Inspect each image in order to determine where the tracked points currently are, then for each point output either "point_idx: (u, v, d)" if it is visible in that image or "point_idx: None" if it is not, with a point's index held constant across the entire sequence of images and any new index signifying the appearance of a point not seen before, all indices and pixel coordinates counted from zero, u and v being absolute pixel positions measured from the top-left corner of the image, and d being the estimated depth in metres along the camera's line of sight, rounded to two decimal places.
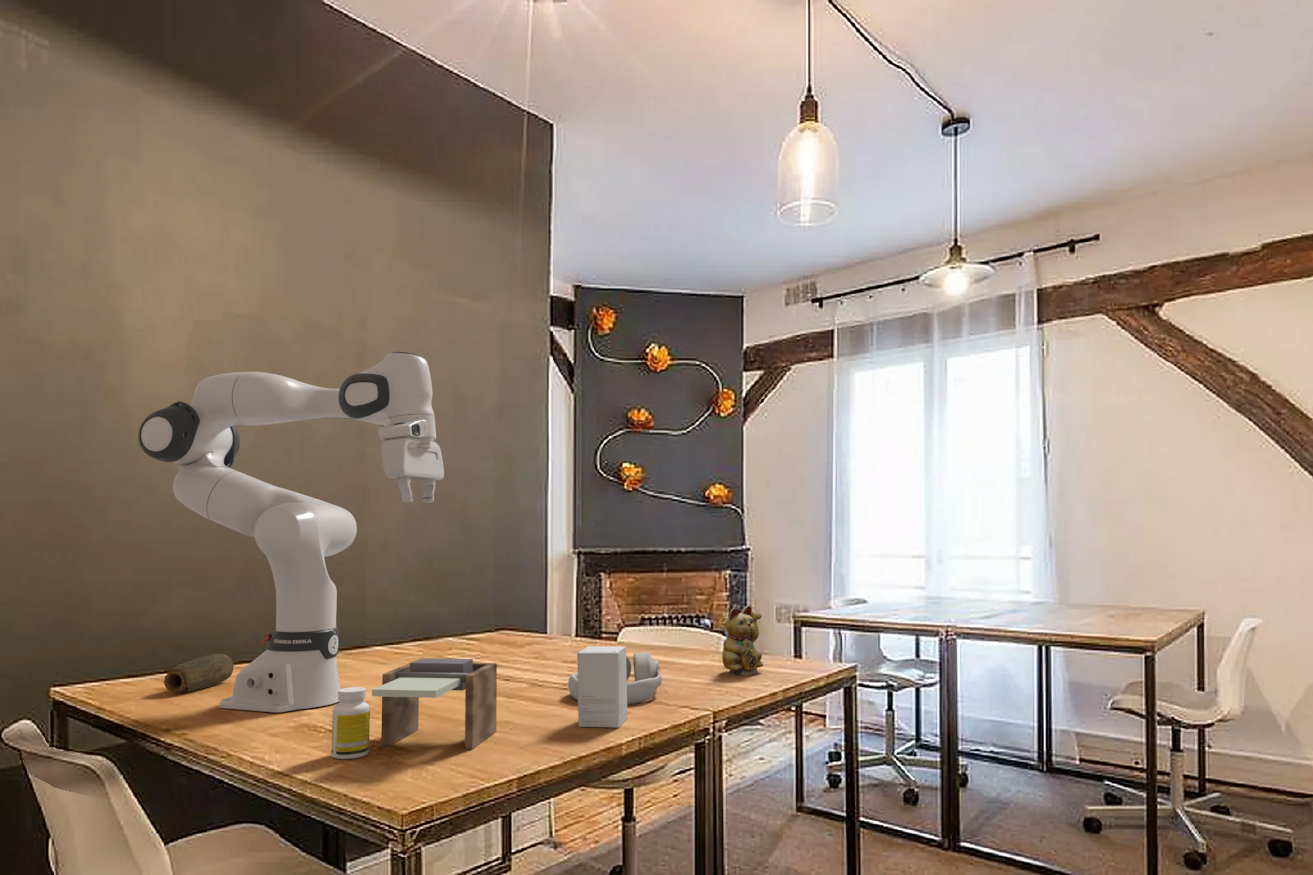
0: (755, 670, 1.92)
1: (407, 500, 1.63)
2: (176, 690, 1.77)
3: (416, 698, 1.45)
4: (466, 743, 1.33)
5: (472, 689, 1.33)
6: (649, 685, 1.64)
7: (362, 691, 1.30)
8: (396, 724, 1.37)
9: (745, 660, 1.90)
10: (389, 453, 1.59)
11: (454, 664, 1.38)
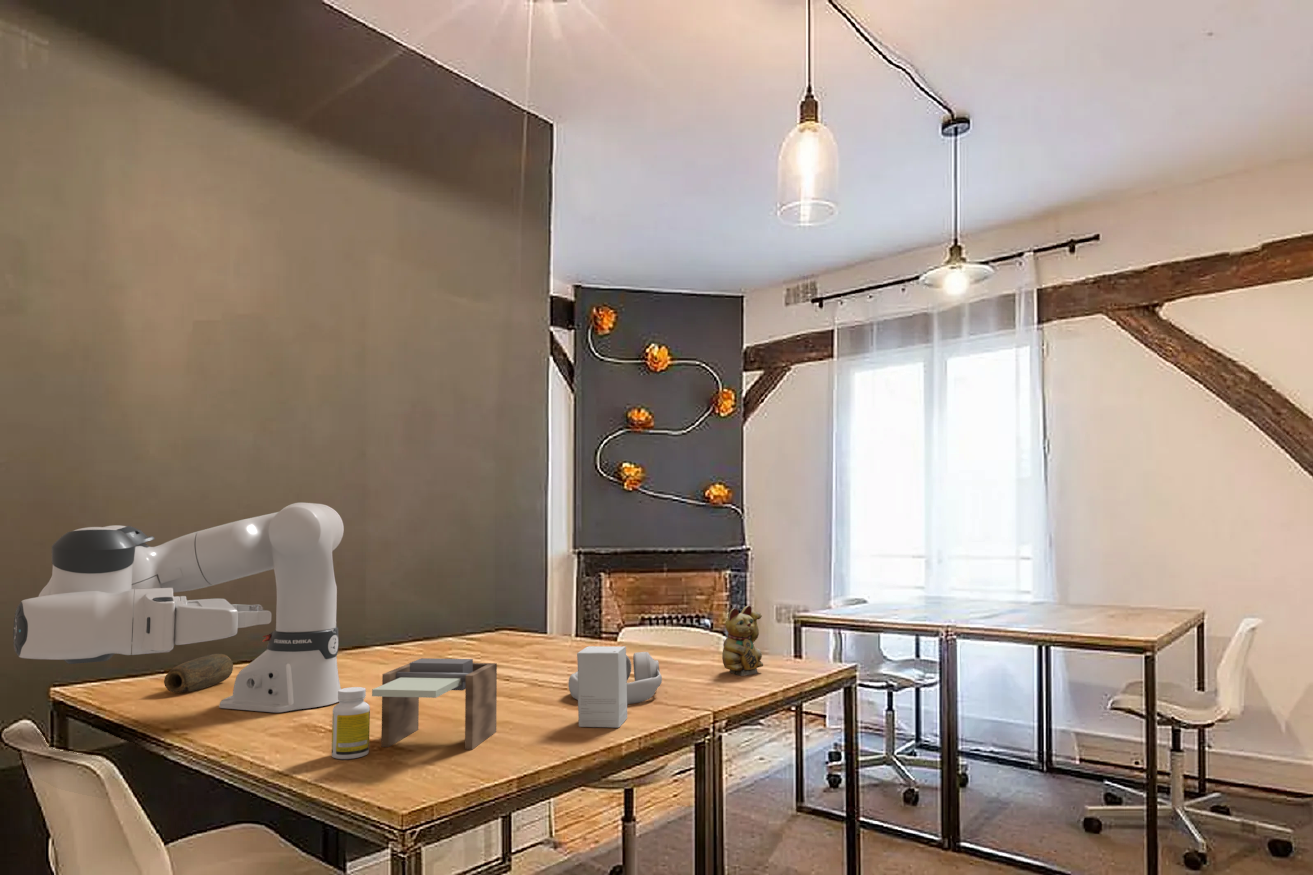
0: (755, 670, 1.92)
1: (269, 615, 1.21)
2: (176, 690, 1.77)
3: (416, 698, 1.45)
4: (466, 743, 1.33)
5: (472, 689, 1.33)
6: (649, 685, 1.65)
7: (362, 691, 1.30)
8: (396, 724, 1.37)
9: (745, 660, 1.90)
10: (201, 628, 1.13)
11: (454, 664, 1.38)
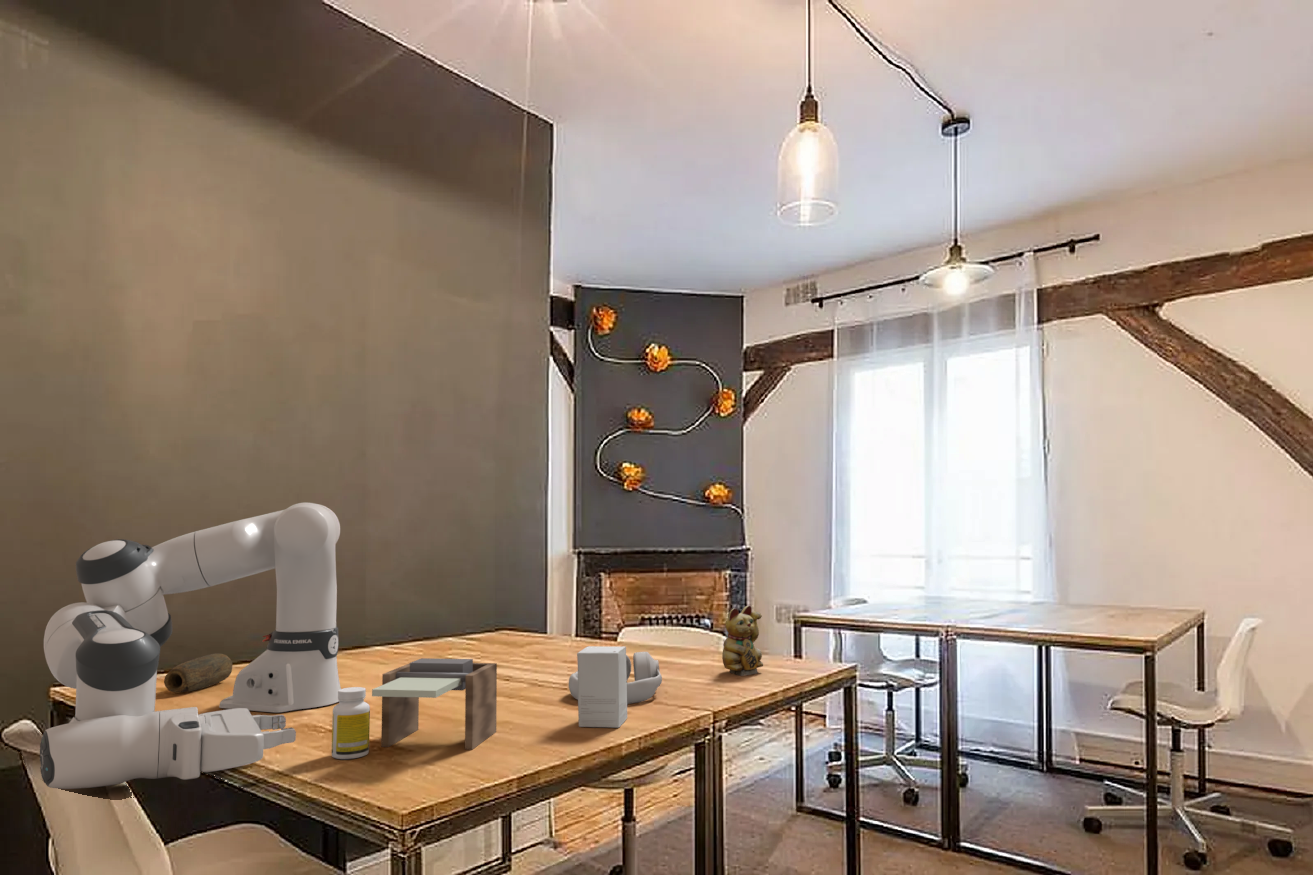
0: (755, 670, 1.92)
1: (294, 734, 1.21)
2: (176, 690, 1.76)
3: (416, 698, 1.45)
4: (466, 743, 1.33)
5: (472, 689, 1.33)
6: (650, 685, 1.65)
7: (362, 691, 1.30)
8: (396, 724, 1.37)
9: (745, 660, 1.90)
10: (228, 755, 1.13)
11: (454, 664, 1.38)
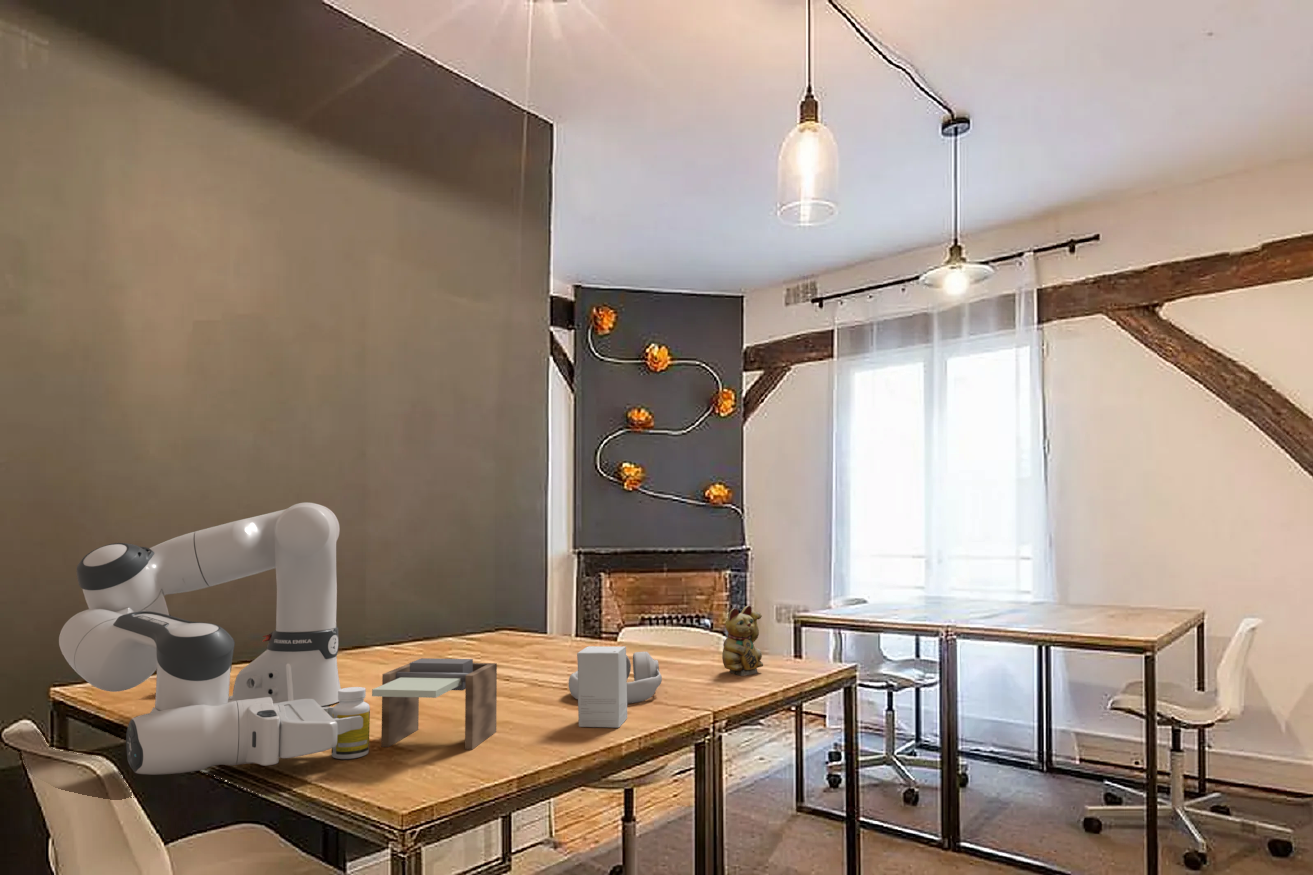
0: (755, 670, 1.92)
1: (361, 720, 1.28)
2: None
3: (416, 698, 1.45)
4: (466, 743, 1.33)
5: (472, 689, 1.33)
6: (650, 685, 1.65)
7: (362, 691, 1.30)
8: (396, 724, 1.37)
9: (745, 660, 1.90)
10: (305, 743, 1.18)
11: (454, 664, 1.38)
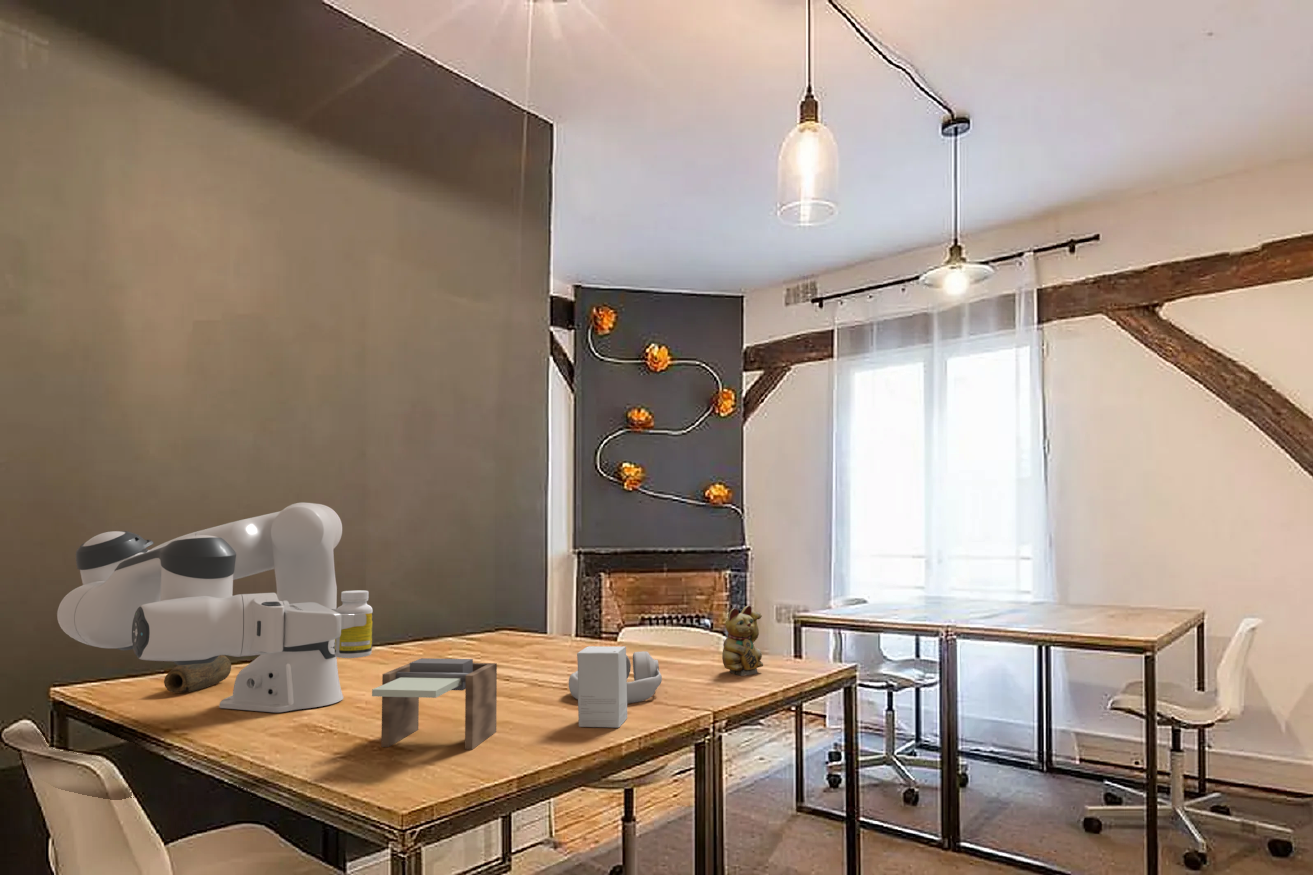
0: (755, 670, 1.92)
1: (364, 618, 1.29)
2: (177, 690, 1.76)
3: (416, 698, 1.45)
4: (466, 743, 1.33)
5: (472, 689, 1.33)
6: (650, 684, 1.65)
7: (365, 593, 1.32)
8: (396, 724, 1.37)
9: (745, 660, 1.90)
10: (309, 631, 1.19)
11: (454, 664, 1.38)
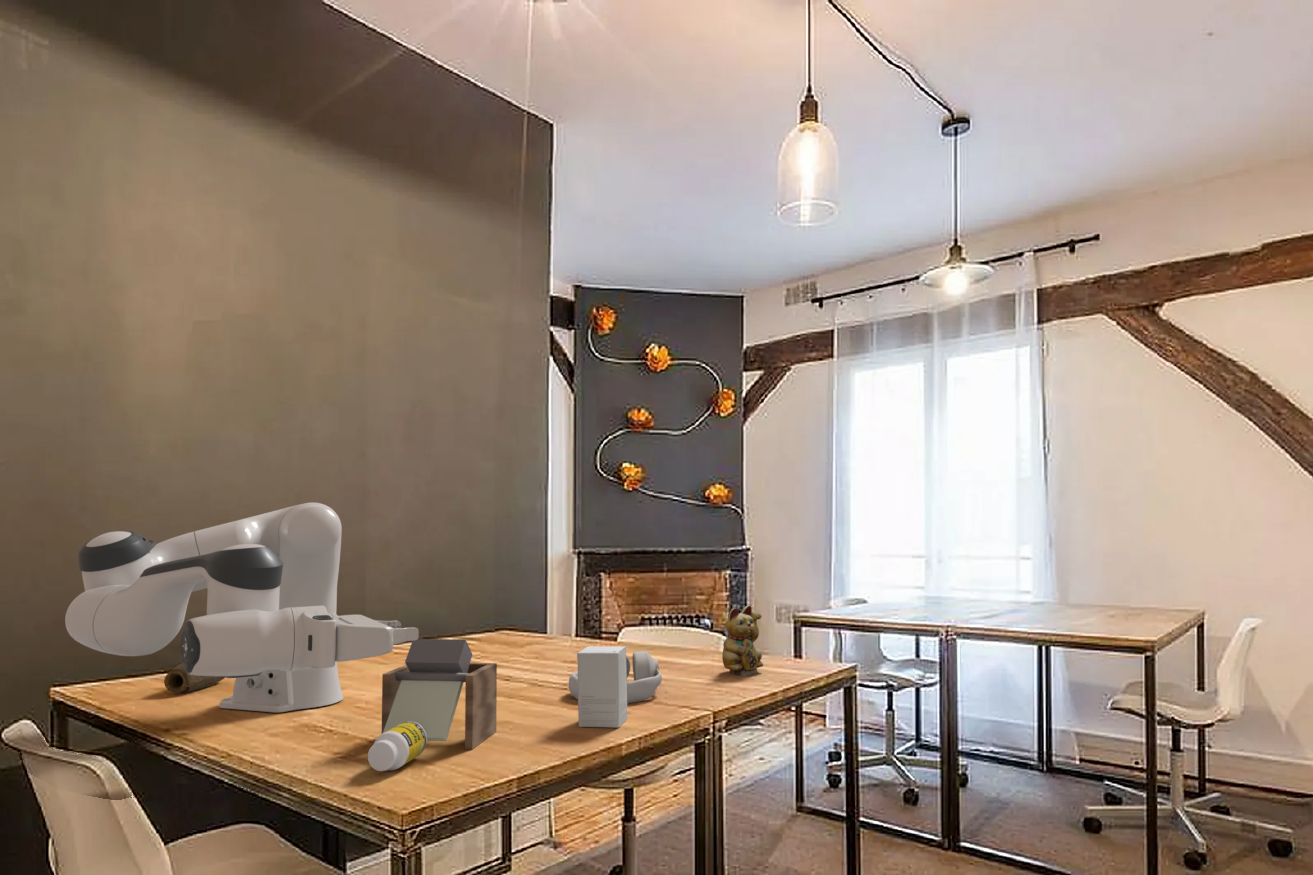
0: (755, 670, 1.92)
1: (417, 632, 1.25)
2: (177, 690, 1.76)
3: None
4: (466, 743, 1.33)
5: (472, 689, 1.33)
6: (650, 684, 1.66)
7: (394, 759, 1.19)
8: None
9: (745, 660, 1.90)
10: (362, 646, 1.17)
11: (450, 663, 1.36)
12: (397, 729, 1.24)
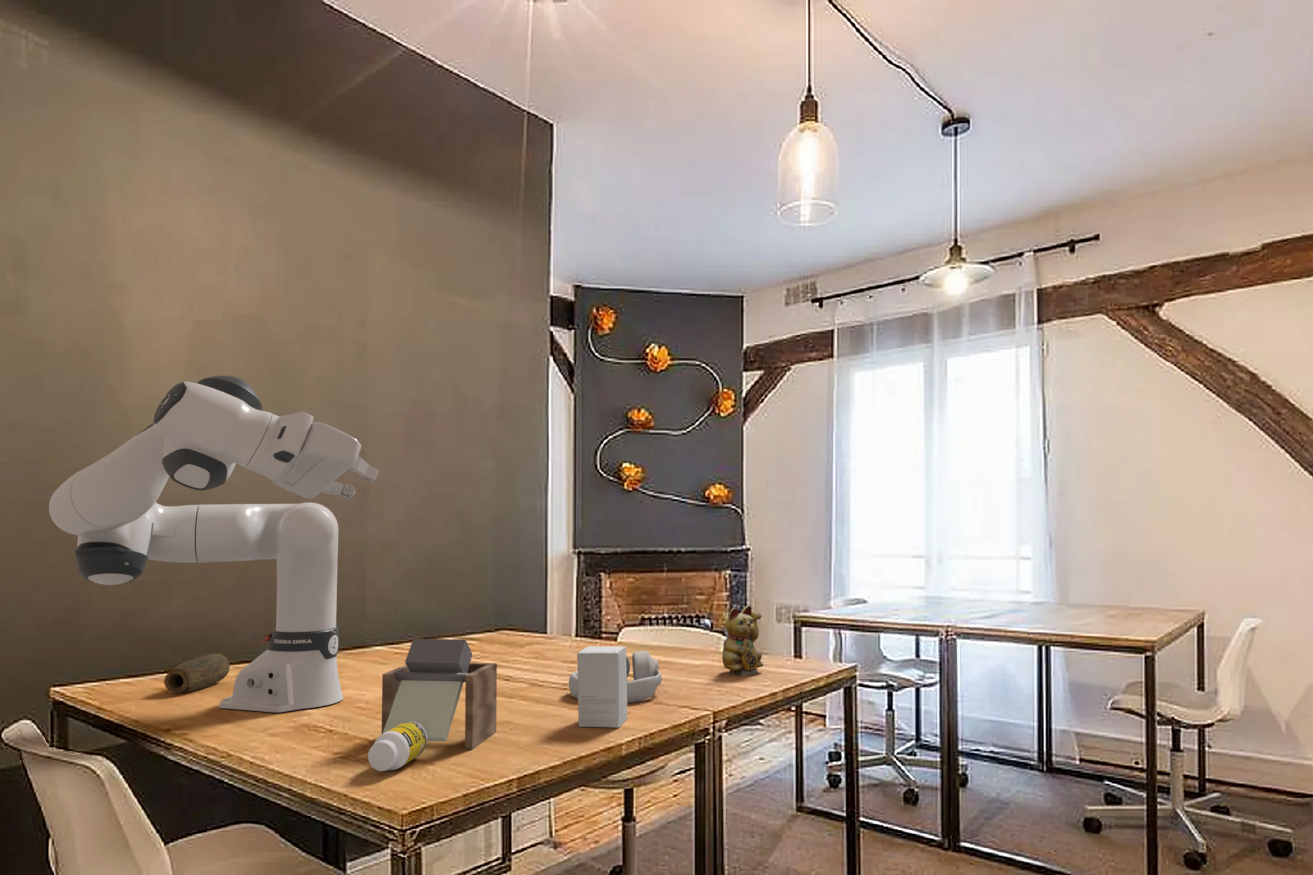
0: (755, 670, 1.92)
1: (377, 473, 1.30)
2: (177, 690, 1.76)
3: None
4: (466, 743, 1.33)
5: (472, 689, 1.33)
6: (650, 684, 1.66)
7: (394, 759, 1.19)
8: None
9: (745, 660, 1.90)
10: (330, 444, 1.22)
11: (450, 663, 1.36)
12: (398, 729, 1.24)
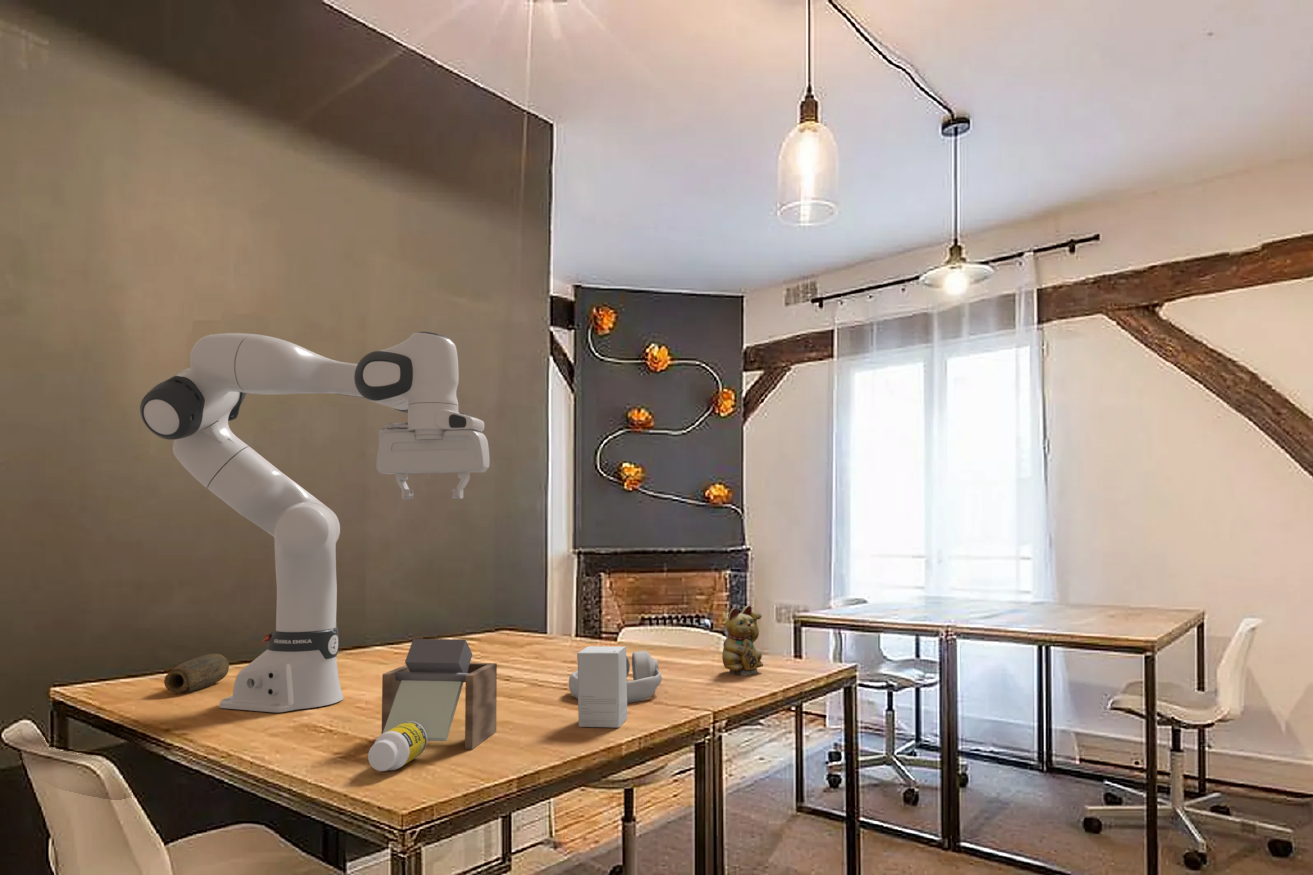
0: (755, 670, 1.92)
1: (462, 497, 1.52)
2: (177, 690, 1.76)
3: None
4: (466, 743, 1.33)
5: (472, 689, 1.33)
6: (650, 684, 1.66)
7: (394, 759, 1.19)
8: None
9: (745, 660, 1.90)
10: (484, 447, 1.52)
11: (450, 663, 1.36)
12: (398, 729, 1.24)
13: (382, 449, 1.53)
